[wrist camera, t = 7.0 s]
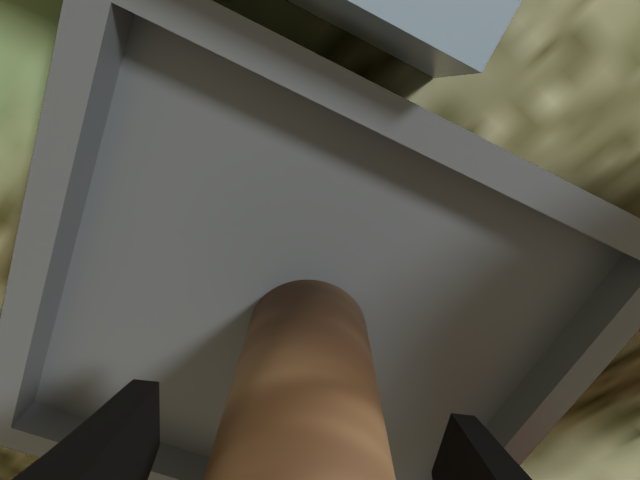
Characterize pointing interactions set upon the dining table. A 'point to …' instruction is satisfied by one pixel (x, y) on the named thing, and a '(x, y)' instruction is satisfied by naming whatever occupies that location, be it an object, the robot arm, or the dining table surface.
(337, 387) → the walnut dowel
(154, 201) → the grey tray
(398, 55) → the frame
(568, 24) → the dining table surface
